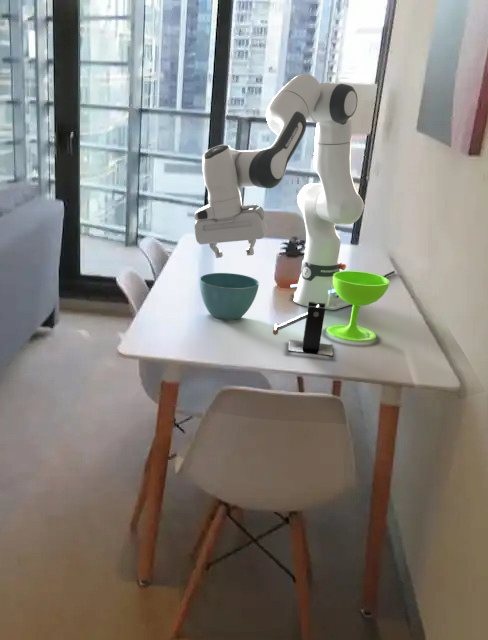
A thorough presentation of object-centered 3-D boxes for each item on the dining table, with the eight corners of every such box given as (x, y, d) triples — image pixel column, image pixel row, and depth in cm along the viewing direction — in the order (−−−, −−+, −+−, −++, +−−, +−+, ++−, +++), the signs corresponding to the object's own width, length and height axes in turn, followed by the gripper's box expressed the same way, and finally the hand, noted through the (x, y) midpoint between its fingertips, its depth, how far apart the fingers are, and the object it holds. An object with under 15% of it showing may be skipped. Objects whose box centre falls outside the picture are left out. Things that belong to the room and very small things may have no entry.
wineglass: (346, 348, 206) (357, 287, 199) (312, 330, 219) (321, 272, 212) (390, 342, 212) (401, 283, 205) (354, 325, 225) (364, 269, 218)
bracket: (287, 354, 199) (294, 307, 194) (288, 343, 207) (295, 298, 202) (332, 360, 197) (340, 312, 191) (331, 348, 205) (338, 302, 199)
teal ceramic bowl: (186, 311, 231) (189, 274, 226) (235, 306, 238) (239, 270, 233) (214, 329, 216) (218, 290, 211) (265, 324, 222) (270, 286, 218)
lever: (275, 337, 199) (271, 329, 199) (275, 330, 205) (272, 323, 204) (322, 316, 194) (319, 308, 194) (322, 309, 200) (318, 302, 199)
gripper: (266, 200, 193) (273, 249, 199) (197, 208, 204) (206, 254, 209) (258, 207, 188) (266, 257, 194) (188, 215, 199) (198, 262, 205)
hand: (234, 256), depth 202 cm, fingers open, 8 cm apart
